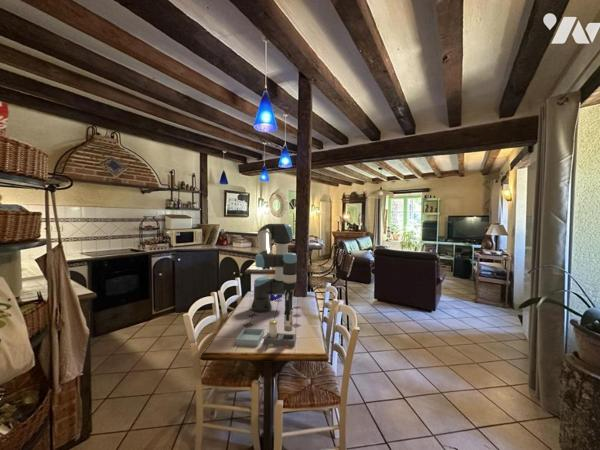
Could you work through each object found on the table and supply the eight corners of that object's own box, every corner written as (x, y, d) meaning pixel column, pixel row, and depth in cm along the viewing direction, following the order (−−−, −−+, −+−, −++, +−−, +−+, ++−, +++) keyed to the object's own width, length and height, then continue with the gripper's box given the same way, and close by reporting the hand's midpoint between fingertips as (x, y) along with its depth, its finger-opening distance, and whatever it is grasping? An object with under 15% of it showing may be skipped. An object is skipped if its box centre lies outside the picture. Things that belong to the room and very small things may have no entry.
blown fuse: (284, 327, 142) (285, 309, 142) (292, 328, 142) (293, 310, 141) (283, 331, 138) (283, 312, 137) (291, 331, 137) (292, 313, 137)
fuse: (269, 337, 143) (270, 319, 142) (277, 338, 142) (277, 320, 142) (268, 341, 138) (268, 322, 138) (276, 341, 138) (276, 323, 138)
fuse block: (267, 337, 145) (267, 332, 145) (296, 339, 143) (296, 334, 143) (263, 345, 135) (263, 340, 135) (294, 347, 134) (294, 342, 134)
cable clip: (273, 301, 211) (273, 293, 211) (269, 299, 214) (270, 292, 214) (283, 297, 221) (283, 290, 220) (279, 296, 223) (279, 290, 223)
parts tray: (244, 333, 150) (244, 327, 150) (264, 334, 149) (264, 329, 149) (235, 344, 136) (235, 338, 136) (257, 345, 135) (258, 340, 135)
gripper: (285, 277, 148) (284, 317, 149) (279, 285, 131) (278, 330, 131) (297, 278, 147) (296, 318, 148) (294, 286, 130) (293, 331, 130)
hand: (288, 323), depth 139 cm, fingers closed on blown fuse, 4 cm apart
